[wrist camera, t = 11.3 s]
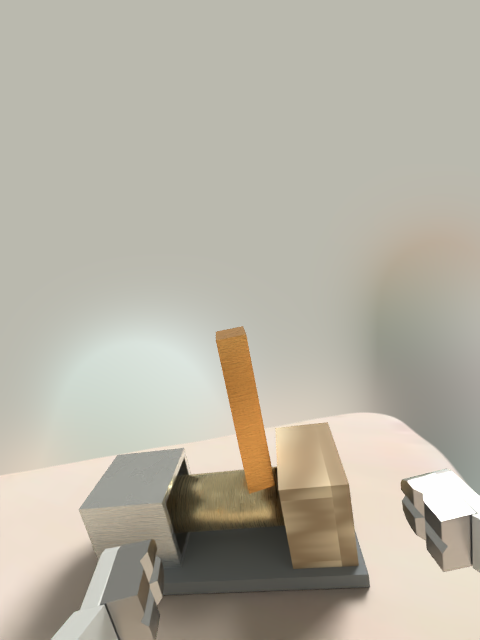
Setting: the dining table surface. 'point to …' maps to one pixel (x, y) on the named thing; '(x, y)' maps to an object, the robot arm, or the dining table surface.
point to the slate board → (252, 565)
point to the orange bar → (258, 476)
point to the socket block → (315, 498)
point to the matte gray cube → (137, 504)
